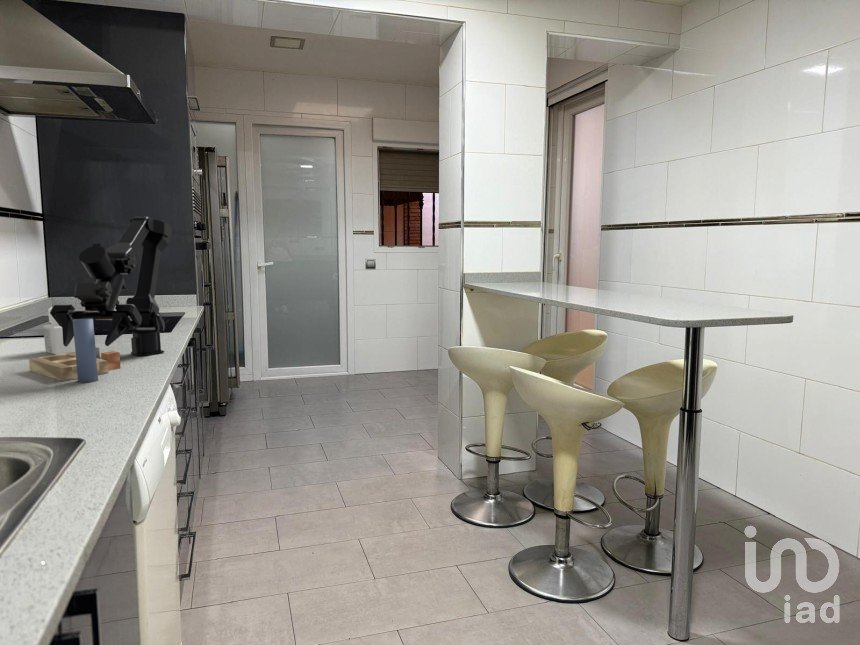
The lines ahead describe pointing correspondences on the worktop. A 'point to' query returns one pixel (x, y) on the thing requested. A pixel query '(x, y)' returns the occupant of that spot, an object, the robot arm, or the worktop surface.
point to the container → (56, 338)
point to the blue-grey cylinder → (85, 350)
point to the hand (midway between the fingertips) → (85, 345)
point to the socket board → (72, 364)
